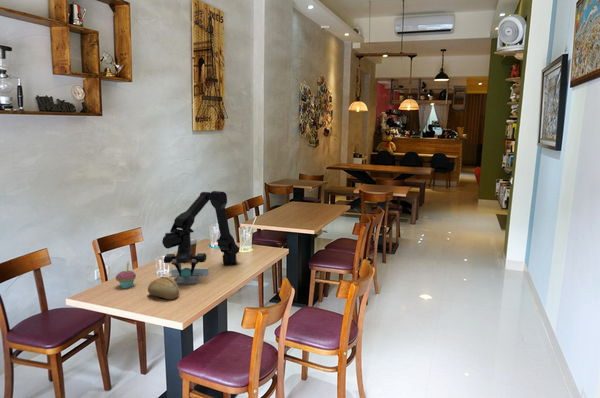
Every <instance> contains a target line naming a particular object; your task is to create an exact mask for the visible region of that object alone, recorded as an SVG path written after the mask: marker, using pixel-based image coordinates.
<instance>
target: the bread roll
mask: <svg viewBox="0 0 600 398" xmlns="http://www.w3.org/2000/svg"><path fill="white" fill-rule="evenodd" d="M147 292H148V293H149V295H152V296H155V297H159V298H163V299H166V300H175V299H176V298H178V297H179V294H180V289H179V285H177V283H176V282H175V280H174V278H171V277H168V276H167V277H166V276H161V277H159V278H156V279H154V280H153V281H151V282H150V284H149V285H148V287H147Z"/></svg>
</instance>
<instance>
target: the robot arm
mask: <svg viewBox="0 0 600 398" xmlns="http://www.w3.org/2000/svg"><path fill="white" fill-rule="evenodd" d="M208 202H210V205H211V206H212V207H213V209H215V215H216V220H217V225H218V231H219V238H217V240H216V242H217V247H218V248H219V250H220V252H221V253H222V264H223V266H236V265H237V263H238V259H237V254H239V252H240V247H239V246H238V245H237V244H236V242H235V238H234V237H233V235H232V234H231V232H230V227H229V226H230V225H229V222H228V217H227V216H228V215H227V210H226V206H227V204H228V195H227V193H226V192H225V191H220V190H213V191H211V192H210V191H202V192H200V194H199V196H197V198H196V199H195V200H194V201H193V202H192V204H191V205H190V206H189V207H188V208H187V210H186V211H184V212H182V213H180V214H179V215H177V216H176V217H175V218H174V222H173V223H172V227H171V229H170V230H169V232H165V234H164V236H163V238H162V245H163V247H164V248H165V249H168V250H169V249H172V248H175V247H177V252H176V254H175V253H167V254H166V255H165V256H164V257H163V263H164V264H170V263H171V265H172V266H175V269H177V270H178V272H179V275H180V276H181V268H182V264H185V265H186V264H188V263H187V261H188V260H192V262H191V263H190V265H191V267H190V268H191V276H192V275H193V272H194V269H195V268H196V265H197V264H199V263H205V262H206V261H207V259H208V257H207V256H208V255H207V254H206V253H205V252H204V253H202V252H201V253H197V254H196V255H195V256H192V252H191V238H190V237H191V234H192V233H194V231H195V230H193V229H192V227H193V224H194V223H195V218H196V217H197V216H198V214H199V213H200V212H201V211H202V210H203V208H204V207H206V205H207V203H208Z"/></svg>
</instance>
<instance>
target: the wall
mask: <svg viewBox="0 0 600 398" xmlns="http://www.w3.org/2000/svg"><path fill="white" fill-rule="evenodd" d="M184 268H185V267H184ZM184 268H182V267H181V271H182V269H184ZM188 268H189V267H188ZM189 269H190V270H191V267H190V268H189ZM195 274H201V277H202V276H203V277H204V276H205V277H210V268H209V267H197V268H196V267H195V269H194V272H193V275H195ZM170 275H171V277H176V276H177V275H179V272H178V270H177V268H171V269H170Z"/></svg>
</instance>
